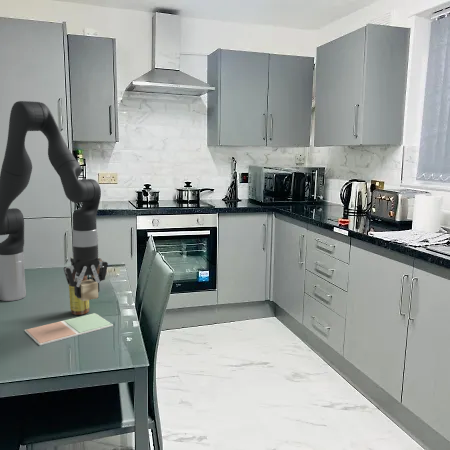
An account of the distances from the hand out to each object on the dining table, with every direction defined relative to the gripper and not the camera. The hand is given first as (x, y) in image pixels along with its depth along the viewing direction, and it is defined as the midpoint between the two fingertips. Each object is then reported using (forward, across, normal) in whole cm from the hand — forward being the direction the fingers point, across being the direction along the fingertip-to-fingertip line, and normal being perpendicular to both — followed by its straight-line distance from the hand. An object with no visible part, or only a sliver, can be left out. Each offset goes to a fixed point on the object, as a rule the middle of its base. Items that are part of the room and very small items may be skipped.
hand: (87, 295), depth 142 cm
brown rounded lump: (+9, -25, -44) cm, 52 cm away
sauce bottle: (+10, -2, -11) cm, 15 cm away
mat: (+10, +6, 0) cm, 11 cm away
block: (+1, 0, 0) cm, 1 cm away
